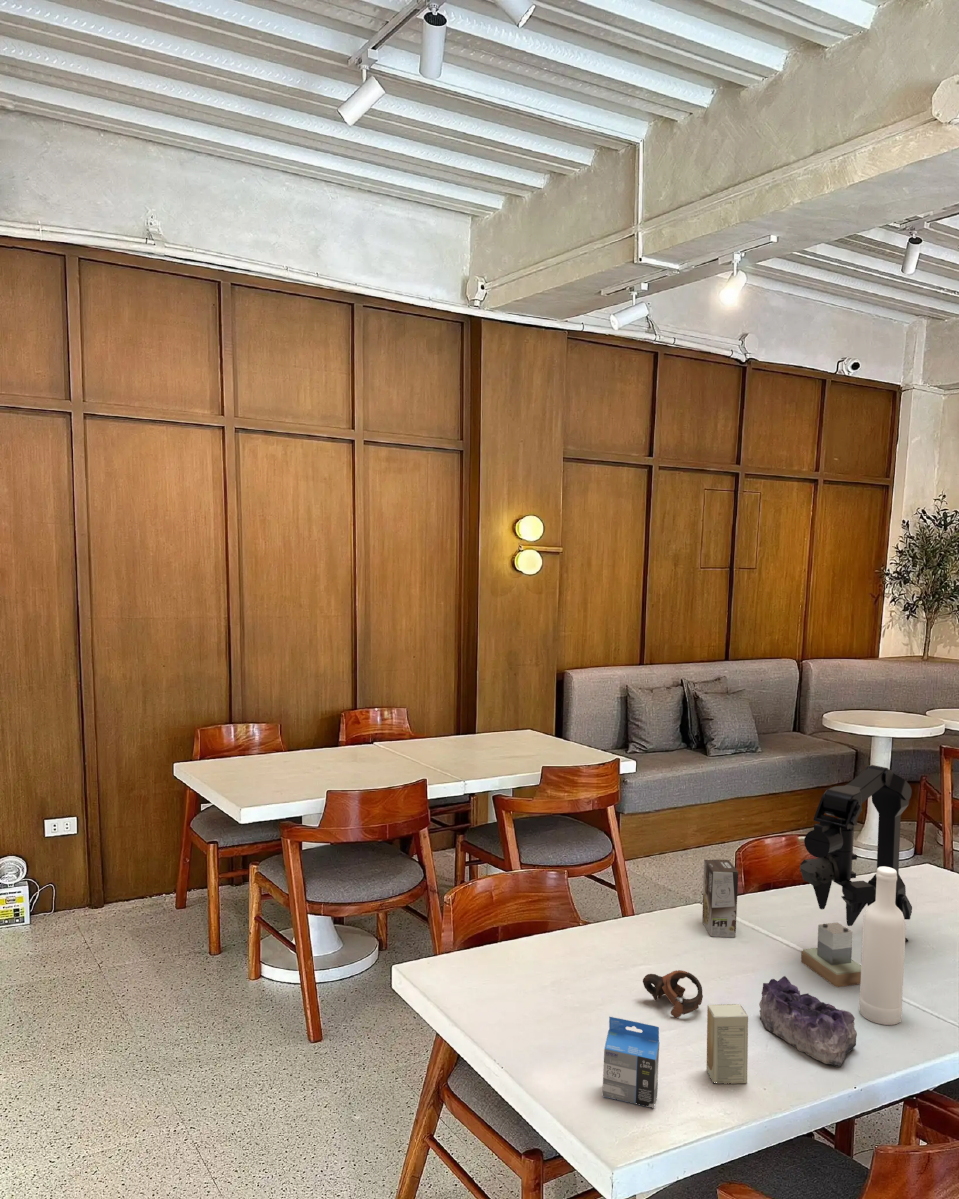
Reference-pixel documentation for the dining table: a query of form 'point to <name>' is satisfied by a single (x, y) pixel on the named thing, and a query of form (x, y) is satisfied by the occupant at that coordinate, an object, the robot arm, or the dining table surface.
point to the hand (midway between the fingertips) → (835, 917)
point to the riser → (832, 969)
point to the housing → (834, 943)
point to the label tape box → (631, 1062)
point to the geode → (807, 1022)
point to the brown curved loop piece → (674, 990)
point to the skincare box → (727, 1043)
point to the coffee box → (720, 898)
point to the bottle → (883, 954)
